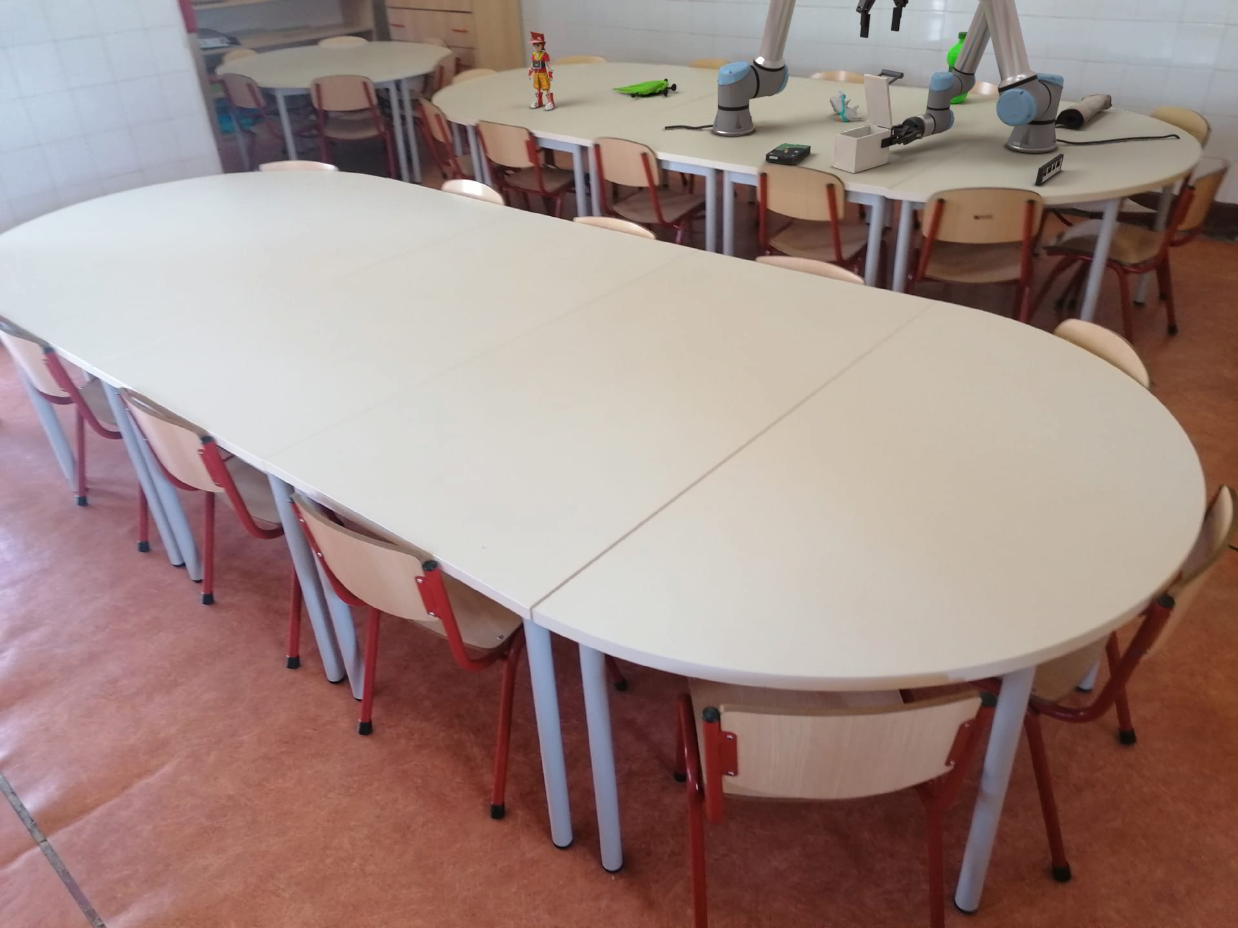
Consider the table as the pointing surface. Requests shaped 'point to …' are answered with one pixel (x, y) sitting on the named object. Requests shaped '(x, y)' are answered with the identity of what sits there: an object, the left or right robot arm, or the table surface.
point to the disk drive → (788, 153)
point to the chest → (860, 148)
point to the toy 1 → (541, 71)
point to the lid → (879, 97)
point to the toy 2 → (648, 88)
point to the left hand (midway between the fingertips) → (879, 34)
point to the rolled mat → (1083, 110)
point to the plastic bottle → (952, 59)
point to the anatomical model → (844, 107)
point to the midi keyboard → (1049, 169)
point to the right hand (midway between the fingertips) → (870, 140)
